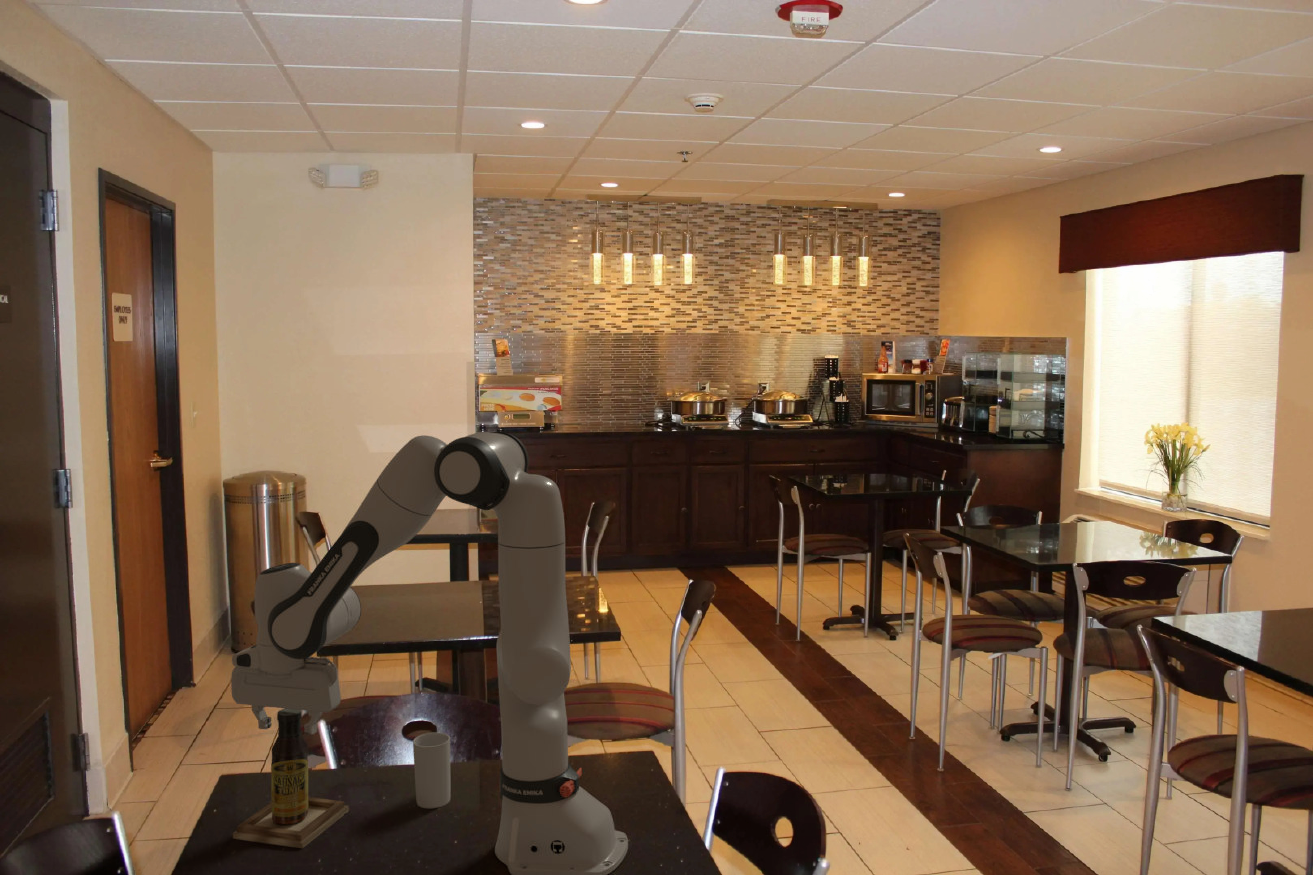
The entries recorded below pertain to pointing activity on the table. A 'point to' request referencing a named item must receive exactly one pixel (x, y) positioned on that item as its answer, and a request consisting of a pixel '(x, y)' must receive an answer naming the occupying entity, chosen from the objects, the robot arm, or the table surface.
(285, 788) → the sauce bottle
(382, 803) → the table surface
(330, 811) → the seat plate
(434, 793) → the mug
